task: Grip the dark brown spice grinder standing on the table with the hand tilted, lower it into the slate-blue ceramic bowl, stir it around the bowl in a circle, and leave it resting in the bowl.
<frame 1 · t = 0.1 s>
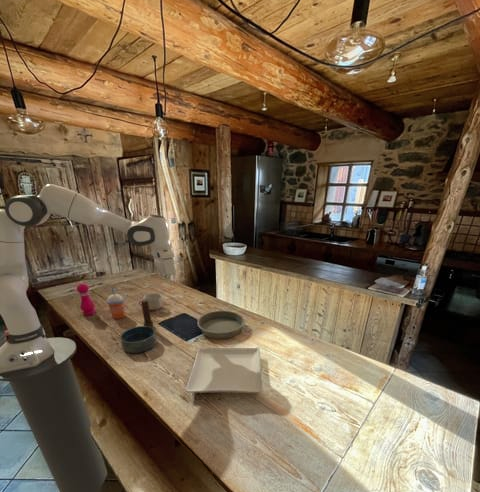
hand: (165, 279, 130), 27 cm above the table, tool pointing down, fingers open, 8 cm apart
teacup: (151, 309, 163), on the table
cake pan: (221, 328, 140), on the table
dark brown spice grinder: (149, 328, 140), on the table
square plate: (226, 374, 106), on the table
cup with straw: (118, 316, 154), on the table
bowl: (140, 344, 126), on the table
pepper mill: (89, 313, 158), on the table
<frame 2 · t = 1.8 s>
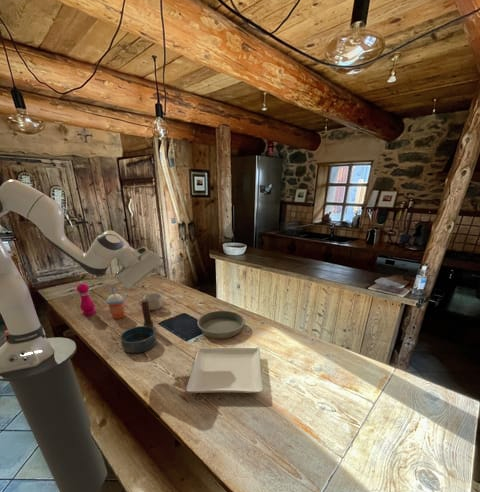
hand: (153, 282, 119), 29 cm above the table, tool tilted 50°, fingers open, 8 cm apart
nothing on the table moved.
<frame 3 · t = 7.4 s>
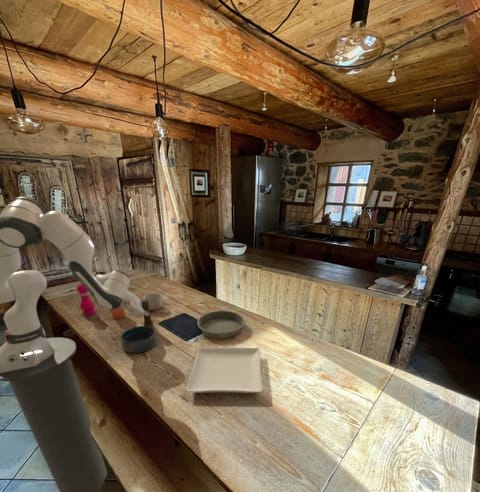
hand: (147, 312, 137), 9 cm above the table, tool tilted 45°, fingers closed on dark brown spice grinder, 3 cm apart
dark brown spice grinder: (149, 328, 140), on the table, touching gripper
everything else where it was.
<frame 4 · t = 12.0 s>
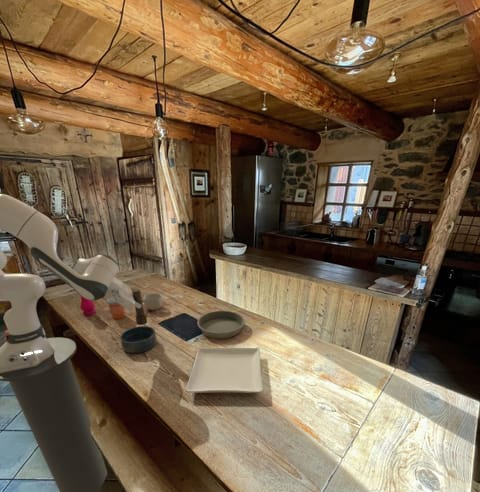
hand: (140, 304, 120), 20 cm above the table, tool tilted 45°, fingers closed on dark brown spice grinder, 3 cm apart
dark brown spice grinder: (141, 322, 123), point 11 cm above the table, touching gripper
everything else where it was.
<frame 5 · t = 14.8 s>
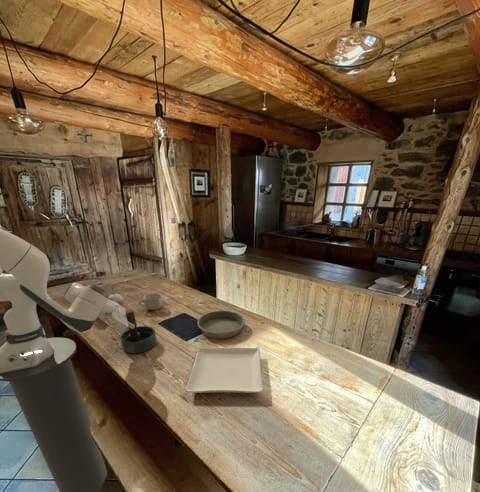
hand: (133, 324, 122), 11 cm above the table, tool tilted 45°, fingers closed on dark brown spice grinder, 3 cm apart
dark brown spice grinder: (135, 341, 125), point 2 cm above the table, touching gripper
everything else where it was.
when the fingers open (10 cm above the table, at t = 16.9 s): dark brown spice grinder stays where it is, resting on bowl.
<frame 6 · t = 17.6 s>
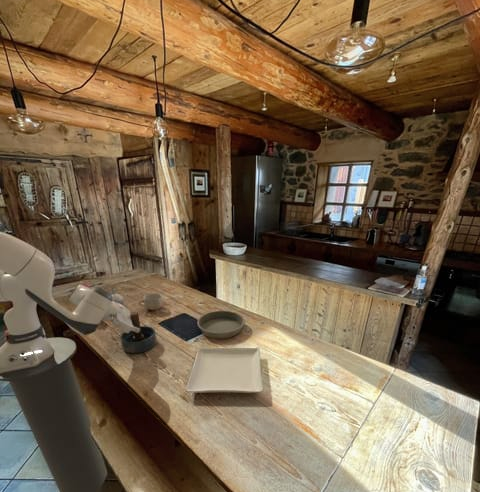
hand: (137, 326, 122), 10 cm above the table, tool tilted 45°, fingers open, 8 cm apart
dark brown spice grinder: (139, 343, 125), point 1 cm above the table, touching bowl
everything else where it was.
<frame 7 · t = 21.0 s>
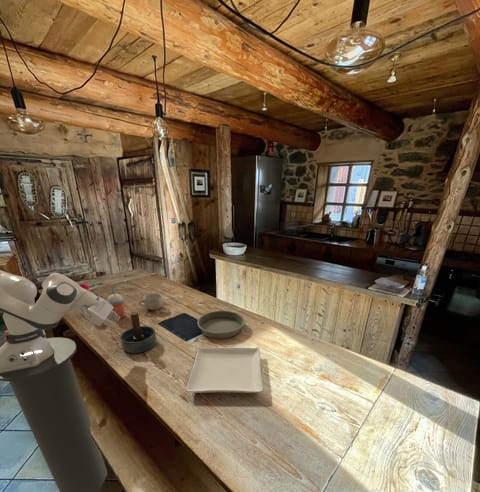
hand: (117, 322, 112), 16 cm above the table, tool tilted 45°, fingers open, 8 cm apart
nothing on the table moved.
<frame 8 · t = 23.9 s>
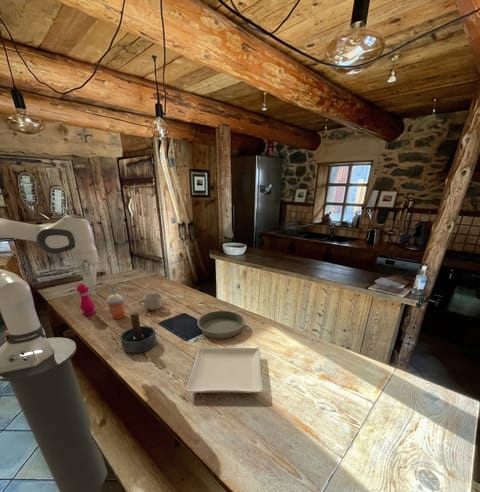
hand: (94, 290, 111), 29 cm above the table, tool pointing down, fingers open, 8 cm apart
nothing on the table moved.
at the end: dark brown spice grinder inside the target area in the bowl (0.2 cm from its centre), point 0.8 cm above the bowl's base; the gripper is holding nothing; dark brown spice grinder moved 16.3 cm from its start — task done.
